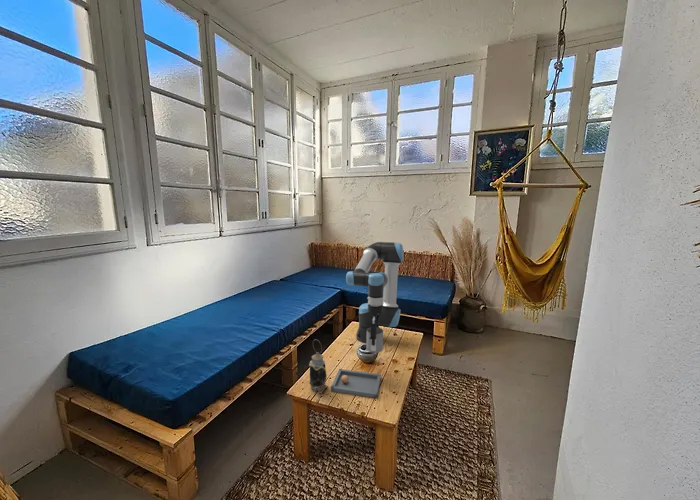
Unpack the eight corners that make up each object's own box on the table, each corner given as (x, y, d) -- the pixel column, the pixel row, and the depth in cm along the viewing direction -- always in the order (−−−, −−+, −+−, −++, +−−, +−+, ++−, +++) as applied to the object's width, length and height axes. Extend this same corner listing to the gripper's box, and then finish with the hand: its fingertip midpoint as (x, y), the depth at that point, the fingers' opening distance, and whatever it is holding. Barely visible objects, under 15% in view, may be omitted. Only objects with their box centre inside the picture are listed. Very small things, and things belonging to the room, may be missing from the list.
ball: (342, 379, 145) (342, 373, 144) (349, 380, 144) (349, 374, 143) (340, 384, 141) (340, 377, 141) (347, 385, 140) (347, 378, 140)
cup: (381, 353, 143) (382, 334, 141) (365, 351, 144) (365, 333, 143) (383, 345, 151) (383, 327, 149) (367, 344, 152) (368, 326, 151)
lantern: (306, 387, 140) (304, 339, 135) (318, 380, 145) (318, 333, 141) (317, 395, 134) (316, 345, 130) (330, 387, 139) (329, 339, 135)
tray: (339, 372, 151) (339, 368, 151) (380, 378, 147) (380, 374, 146) (330, 392, 136) (330, 387, 136) (376, 399, 131) (376, 394, 131)
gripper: (371, 297, 155) (370, 336, 158) (364, 310, 135) (363, 355, 138) (385, 298, 153) (383, 338, 157) (380, 312, 133) (379, 357, 136)
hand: (374, 346), depth 147 cm, fingers closed on cup, 8 cm apart
